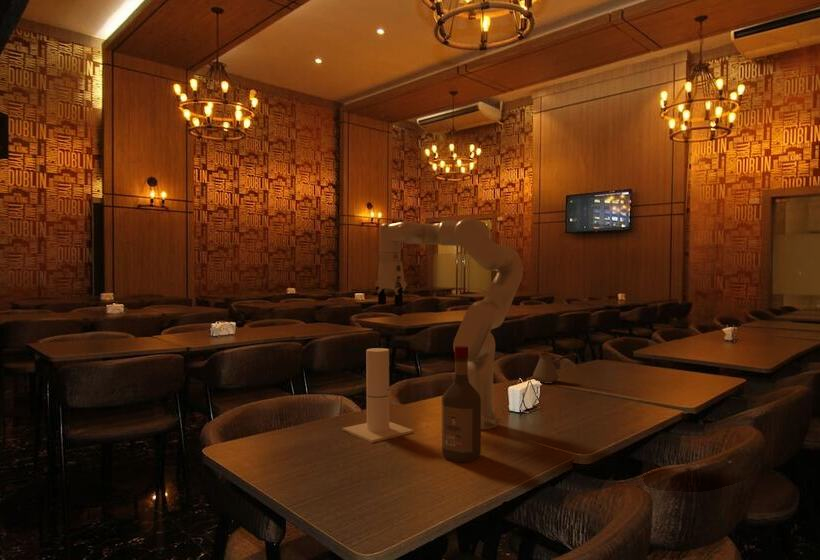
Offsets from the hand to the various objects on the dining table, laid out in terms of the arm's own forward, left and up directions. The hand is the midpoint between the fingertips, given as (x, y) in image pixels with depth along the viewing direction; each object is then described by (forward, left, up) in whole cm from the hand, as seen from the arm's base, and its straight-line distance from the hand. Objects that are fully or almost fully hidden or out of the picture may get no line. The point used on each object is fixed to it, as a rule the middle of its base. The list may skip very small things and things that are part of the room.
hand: (390, 305), depth 193 cm
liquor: (-50, +14, -38) cm, 65 cm away
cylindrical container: (-17, +18, -38) cm, 45 cm away
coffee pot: (-9, -87, -38) cm, 96 cm away
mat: (-17, +18, -38) cm, 46 cm away
